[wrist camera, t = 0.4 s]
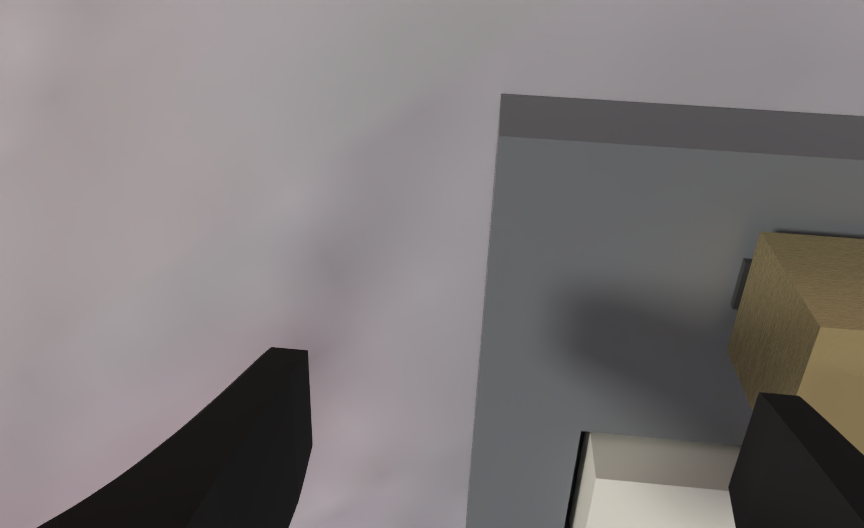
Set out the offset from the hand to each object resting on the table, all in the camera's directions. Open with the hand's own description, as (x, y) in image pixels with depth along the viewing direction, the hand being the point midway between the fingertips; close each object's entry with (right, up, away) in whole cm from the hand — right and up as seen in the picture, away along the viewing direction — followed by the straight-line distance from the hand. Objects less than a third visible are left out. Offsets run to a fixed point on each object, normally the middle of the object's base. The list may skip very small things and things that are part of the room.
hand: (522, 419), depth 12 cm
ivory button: (+5, -3, +9) cm, 10 cm away
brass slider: (+7, +2, +4) cm, 8 cm away
